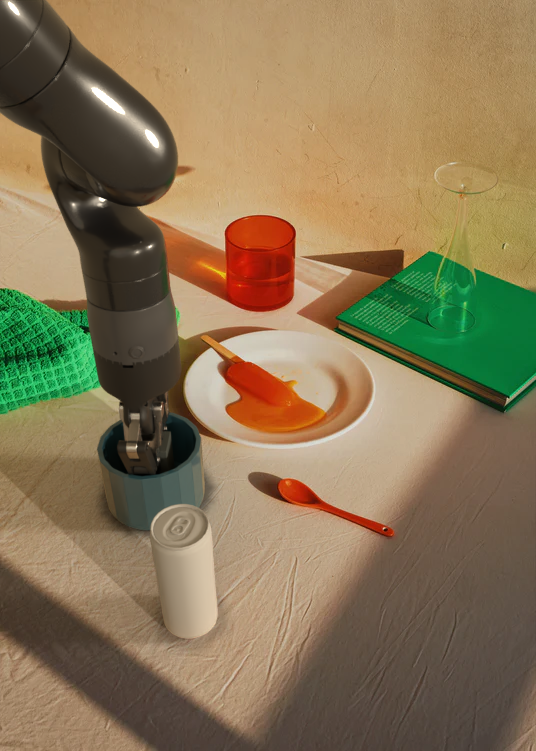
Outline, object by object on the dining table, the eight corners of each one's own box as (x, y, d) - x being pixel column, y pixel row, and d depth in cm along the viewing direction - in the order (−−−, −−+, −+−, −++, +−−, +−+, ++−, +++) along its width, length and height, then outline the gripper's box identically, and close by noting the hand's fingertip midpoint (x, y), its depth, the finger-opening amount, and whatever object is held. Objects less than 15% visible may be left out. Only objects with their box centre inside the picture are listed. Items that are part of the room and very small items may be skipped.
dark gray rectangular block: (170, 488, 74) (166, 451, 71) (135, 487, 74) (129, 451, 71) (174, 467, 76) (170, 431, 73) (140, 466, 76) (134, 430, 73)
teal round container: (139, 547, 70) (131, 495, 66) (89, 488, 77) (79, 437, 73) (224, 499, 76) (221, 448, 71) (170, 447, 82) (165, 398, 78)
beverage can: (153, 632, 63) (136, 539, 56) (179, 588, 67) (166, 495, 60) (204, 650, 62) (193, 557, 55) (227, 604, 65) (220, 511, 58)
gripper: (109, 293, 70) (130, 429, 81) (72, 382, 59) (102, 528, 69) (187, 294, 70) (198, 431, 80) (165, 384, 59) (182, 529, 69)
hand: (154, 475), depth 75 cm, fingers closed on dark gray rectangular block, 3 cm apart
